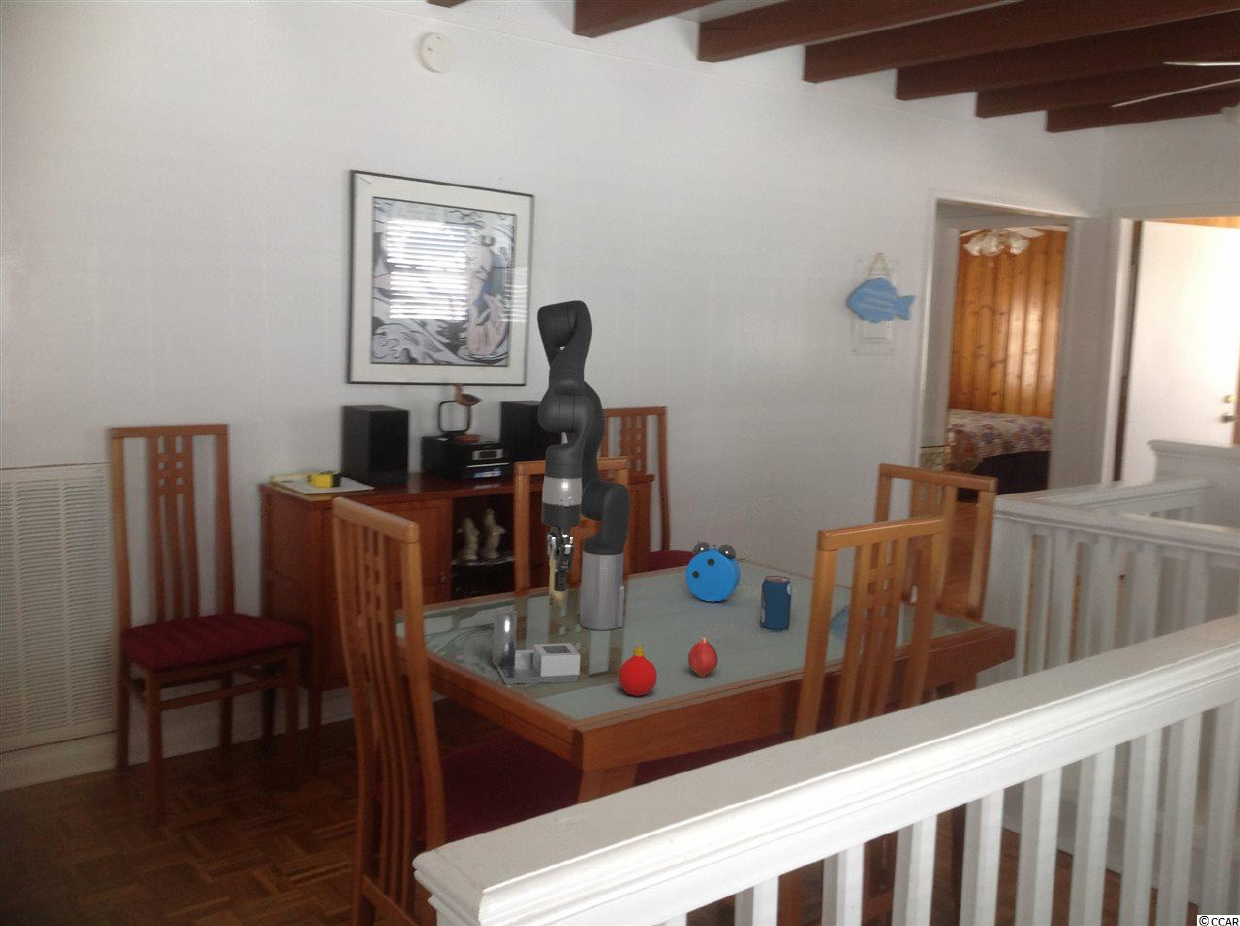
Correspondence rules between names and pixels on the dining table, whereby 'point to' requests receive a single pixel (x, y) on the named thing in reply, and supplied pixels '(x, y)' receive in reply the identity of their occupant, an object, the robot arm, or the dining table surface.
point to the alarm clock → (713, 572)
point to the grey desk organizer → (531, 656)
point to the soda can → (775, 603)
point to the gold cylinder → (554, 596)
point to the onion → (702, 658)
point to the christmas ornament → (637, 674)
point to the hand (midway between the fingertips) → (557, 588)
